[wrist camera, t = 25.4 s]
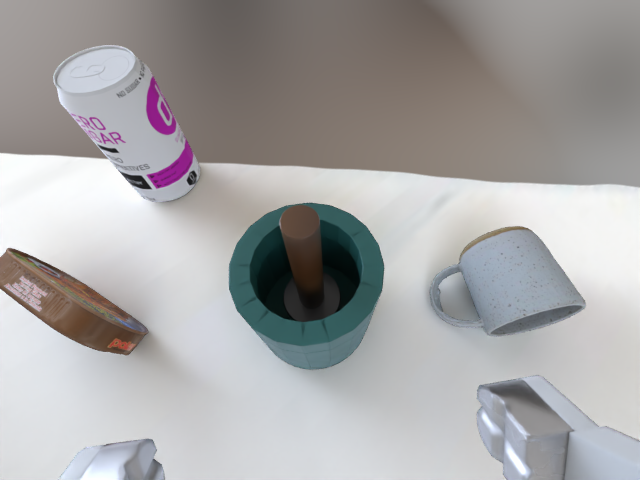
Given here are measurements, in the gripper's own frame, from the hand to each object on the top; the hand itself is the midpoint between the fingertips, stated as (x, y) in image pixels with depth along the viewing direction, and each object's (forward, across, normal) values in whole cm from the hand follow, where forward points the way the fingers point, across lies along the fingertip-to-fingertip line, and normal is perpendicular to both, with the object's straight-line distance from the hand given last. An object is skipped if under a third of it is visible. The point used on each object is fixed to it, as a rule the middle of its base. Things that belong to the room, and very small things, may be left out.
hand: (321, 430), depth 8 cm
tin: (+24, +22, +7) cm, 33 cm away
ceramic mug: (+22, -17, +10) cm, 29 cm away
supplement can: (+37, +16, -5) cm, 40 cm away
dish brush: (+22, 0, +8) cm, 23 cm away
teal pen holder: (+22, 0, +9) cm, 24 cm away
